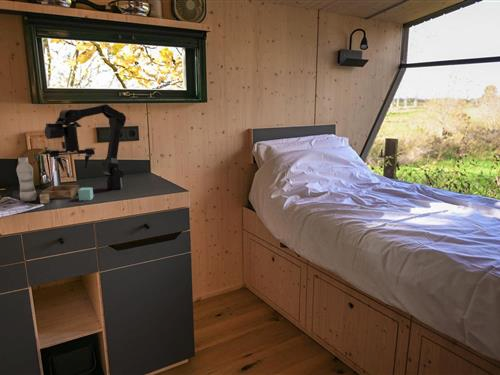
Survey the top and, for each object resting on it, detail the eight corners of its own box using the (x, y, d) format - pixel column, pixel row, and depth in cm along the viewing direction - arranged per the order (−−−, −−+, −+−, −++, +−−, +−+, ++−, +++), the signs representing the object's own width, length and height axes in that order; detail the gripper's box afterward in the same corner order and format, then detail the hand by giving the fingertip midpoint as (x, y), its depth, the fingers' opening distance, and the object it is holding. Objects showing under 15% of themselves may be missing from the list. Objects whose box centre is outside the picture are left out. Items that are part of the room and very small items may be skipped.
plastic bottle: (24, 199, 172) (18, 156, 168) (40, 199, 173) (34, 156, 168) (17, 203, 166) (10, 158, 161) (33, 202, 166) (27, 158, 162)
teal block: (93, 197, 176) (92, 187, 174) (90, 200, 171) (89, 189, 170) (82, 198, 175) (81, 187, 174) (79, 200, 170) (78, 190, 169)
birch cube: (49, 201, 170) (48, 193, 169) (49, 202, 167) (48, 195, 166) (40, 201, 168) (39, 194, 167) (40, 203, 165) (39, 196, 164)
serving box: (79, 191, 187) (78, 185, 186) (71, 198, 174) (70, 191, 173) (52, 192, 185) (51, 185, 184) (41, 199, 172) (40, 192, 172)
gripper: (92, 135, 182) (95, 166, 185) (49, 136, 175) (53, 169, 178) (92, 136, 172) (96, 170, 176) (47, 138, 165) (52, 173, 168)
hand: (74, 170), depth 175 cm, fingers open, 9 cm apart
